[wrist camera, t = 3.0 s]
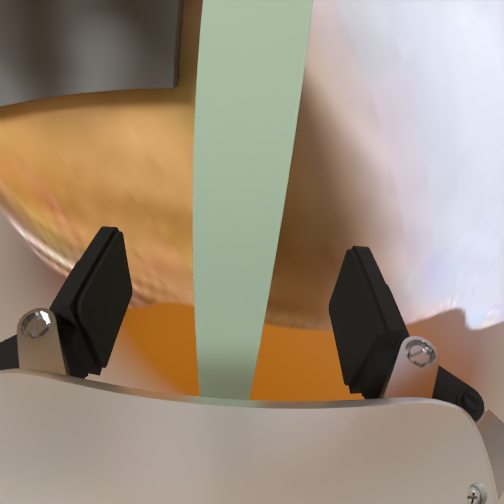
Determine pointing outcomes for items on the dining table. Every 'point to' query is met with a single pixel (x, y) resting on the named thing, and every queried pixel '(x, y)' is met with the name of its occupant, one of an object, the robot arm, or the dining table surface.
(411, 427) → the robot arm
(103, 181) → the dining table surface
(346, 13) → the dining table surface
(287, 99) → the green slotted plate
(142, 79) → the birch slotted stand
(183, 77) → the dining table surface
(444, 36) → the dining table surface
